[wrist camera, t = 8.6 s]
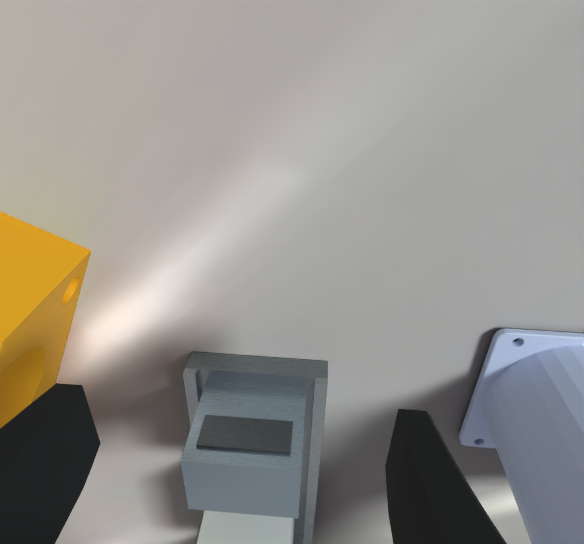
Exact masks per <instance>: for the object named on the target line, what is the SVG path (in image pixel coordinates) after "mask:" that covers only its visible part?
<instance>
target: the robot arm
mask: <svg viewBox="0 0 584 544" xmlns="http://www.w3.org/2000/svg"><path fill="white" fill-rule="evenodd" d="M516 338H520V339H519V340H517V341H513V340H515V339H516ZM459 440H460V442H461V444H462V445H464V446H469V447H482V448H495V449H496V450H497V452H498V455H499V458H500V460H501V463H502V466H503V468H504V471H505V474H506V476H507V479H508V482H509V484H510V487H511V490H512V492H513V495H514V498H515V500H516V503H517V505H518V508H519V511H520V513H521V516H522V519H523V521H524V524H525V527H526V529H527V532H528V535H529V537H530V540H531V543H532V544H584V333H569V332H554V331H539V330H523V329H508V328H507V329H501V330H498V331H497V332H496V333H495V334H494V336H493V338H492V341H491V344H490V347H489V350H488V353H487V355H486V358H485V361H484V364H483V367H482V370H481V373H480V376H479V378H478V381H477V384H476V387H475V390H474V393H473V396H472V399H471V401H470V404H469V407H468V410H467V413H466V416H465V419H464V422H463V424H462V427H461V430H460V433H459ZM99 446H100V440H99V437H98V434H97V431H96V428H95V425H94V422H93V418H92V415H91V412H90V409H89V406H88V403H87V400H86V396H85V393H84V390H83V387H82V385H70V384H57V383H56V384H55V385H54V386H52V387H51V388H50V389H49V390H47V391H46V392H45V393H44V394H42V395H41V396H40V397H39V398H37V399H36V400H35V401H34V402H32V403H31V404H30V405H29V406H27V407H26V408H25V409H24V410H23V411H21V412H20V413H19V414H18V415H16V416H15V417H14V418H13V419H11V420H10V421H9V422H8V423H7V424H5V425H4V426H3V427H2V428H0V544H55V542H56V540H57V538H58V536H59V534H60V532H61V531H62V529H63V527H64V525H65V523H66V521H67V519H68V517H69V515H70V513H71V511H72V509H73V507H74V505H75V503H76V502H77V500H78V498H79V496H80V494H81V492H82V490H83V488H84V485H85V483H86V480H87V477H88V475H89V472H90V470H91V467H92V465H93V462H94V459H95V456H96V454H97V451H98V448H99ZM385 467H386V483H387V498H388V511H389V519H390V525H391V531H392V537H393V543H394V544H507V543H506V542H505V541H504V539H503V538H502V536H501V535H500V533H499V532H498V530H497V529H496V527H495V526H494V524H493V522H492V521H491V519H490V518H489V516H488V515H487V513H486V511H485V510H484V508H483V507H482V505H481V504H480V502H479V500H478V499H477V497H476V496H475V494H474V492H473V491H472V489H471V488H470V486H469V484H468V483H467V481H466V479H465V478H464V476H463V474H462V473H461V471H460V469H459V467H458V466H457V464H456V462H455V460H454V459H453V457H452V455H451V453H450V452H449V450H448V448H447V446H446V444H445V443H444V441H443V439H442V437H441V435H440V433H439V431H438V430H437V428H436V426H435V424H434V422H433V420H432V418H431V416H430V415H429V413H428V412H427V411H418V410H405V409H398V413H397V417H396V422H395V426H394V431H393V435H392V439H391V444H390V448H389V453H388V457H387V462H386V466H385Z"/></svg>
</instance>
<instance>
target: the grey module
mask: <svg viewBox="0 0 584 544" xmlns="http://www.w3.org/2000/svg"><path fill="white" fill-rule="evenodd" d="M294 523H295V518H286V517H274V516H263V515H251V514H240V513H229V512H217V511H206V510H205V512H204V516H203V520H202V524H200V527H199V531H198V535H197V539H196V543H195V544H293V538H294Z"/></svg>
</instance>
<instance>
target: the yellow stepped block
mask: <svg viewBox="0 0 584 544" xmlns="http://www.w3.org/2000/svg"><path fill="white" fill-rule="evenodd" d="M90 253H91V250H89V249H86V248H84V247H82V246H79V245H77V244H75V243H72V242H70V241H68V240H65V239H63V238H61V237H58V236H56V235H54V234H51V233H49V232H47V231H44V230H42V229H40V228H37V227H35V226H33V225H30V224H28V223H26V222H23V221H21V220H19V219H16V218H14V217H12V216H9V215H7V214H5V213H2V212H0V428H2V427H3V426H4V425H5V424H7V423H8V422H9V421H10V420H11V419H13V418H14V417H15V416H16V415H18V414H19V413H20V412H21V411H23V410H24V409H25V408H26V407H27V406H29V405H30V404H31V403H32V402H34V401H35V400H36V399H37V398H39V397H40V396H41V395H42V394H44V393H45V392H46V391H47V390H49V389H50V388H51V387H52V386H54V385H55V382H56V379H57V375H58V371H59V368H60V364H61V360H62V356H63V353H64V349H65V345H66V342H67V338H68V334H69V331H70V327H71V323H72V320H73V316H74V312H75V308H76V305H77V301H78V297H79V294H80V290H81V286H82V283H83V279H84V275H85V272H86V268H87V264H88V260H89V257H90Z"/></svg>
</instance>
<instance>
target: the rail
mask: <svg viewBox="0 0 584 544" xmlns="http://www.w3.org/2000/svg"><path fill="white" fill-rule="evenodd" d="M183 379H184V386H185V393H186V400H187V407H188V414H189V421H190V428H191V429H190V432H189V435H188V438H187V441H186V444H185V447H184V450H183V453H182V456H181V459H180V464H181V469H182V475H183V481H184V486H185V492H186V498H187V504H188V509H194V510H203V516H204V512H205V510H206V511H217V512H229V513H240V514H251V515H263V516H274V517H286V518H295V523H294V538H293V544H312V541H313V530H314V520H315V510H316V499H317V489H318V479H319V468H320V458H321V447H322V437H323V427H324V416H325V406H326V395H327V385H328V361H318V360H304V359H290V358H276V357H261V356H247V355H233V354H218V353H204V352H191V354H190V357H189V359H188V362H187V364H186V367H185V370H184V372H183Z"/></svg>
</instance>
